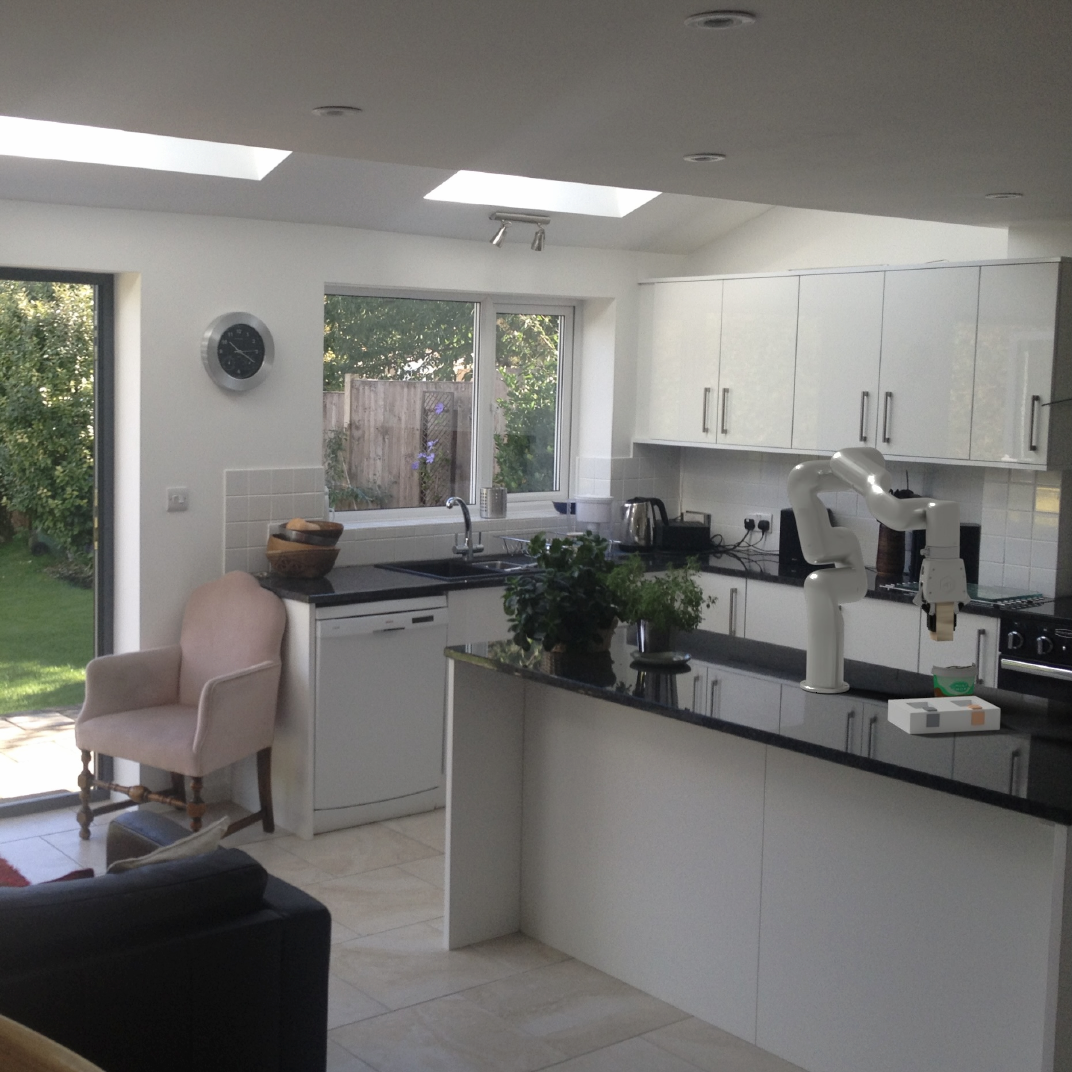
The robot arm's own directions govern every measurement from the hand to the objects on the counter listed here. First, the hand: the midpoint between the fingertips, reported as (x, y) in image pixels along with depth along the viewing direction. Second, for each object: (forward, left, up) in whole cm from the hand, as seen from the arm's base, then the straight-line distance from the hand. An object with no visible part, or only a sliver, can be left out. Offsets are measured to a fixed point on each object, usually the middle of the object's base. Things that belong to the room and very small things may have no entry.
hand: (941, 629), depth 299 cm
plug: (0, 0, -2) cm, 2 cm away
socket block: (+3, 0, -22) cm, 22 cm away
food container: (-13, +12, -22) cm, 28 cm away
